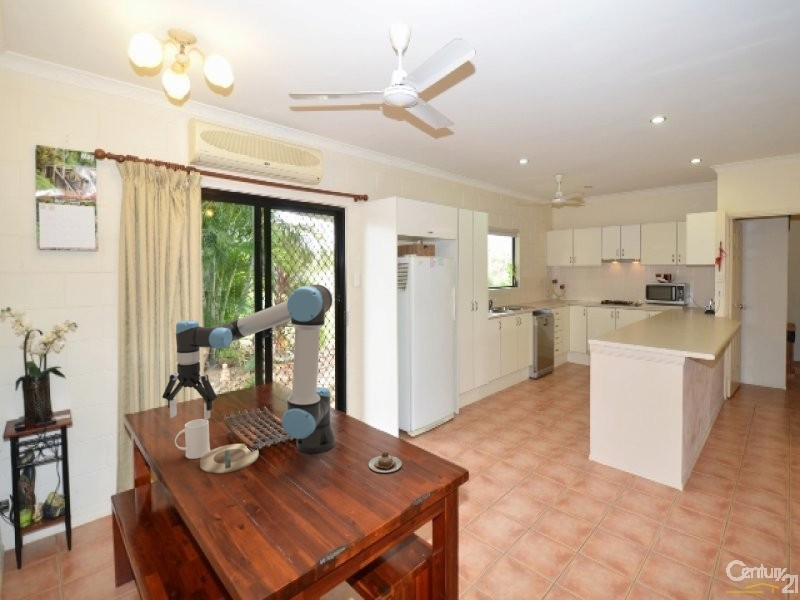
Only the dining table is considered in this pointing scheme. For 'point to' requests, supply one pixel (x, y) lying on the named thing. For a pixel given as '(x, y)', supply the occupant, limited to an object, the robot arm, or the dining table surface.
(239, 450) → the cream saucer dish
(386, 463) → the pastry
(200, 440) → the mug
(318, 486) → the dining table surface
